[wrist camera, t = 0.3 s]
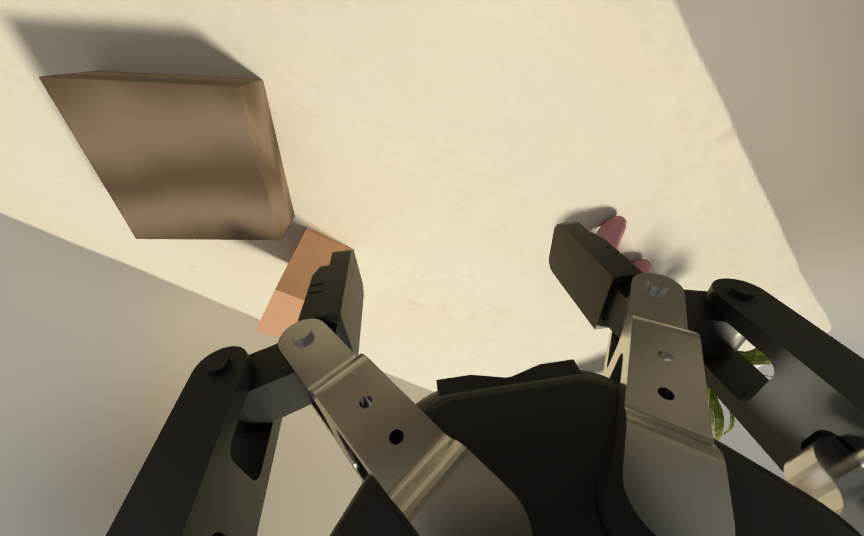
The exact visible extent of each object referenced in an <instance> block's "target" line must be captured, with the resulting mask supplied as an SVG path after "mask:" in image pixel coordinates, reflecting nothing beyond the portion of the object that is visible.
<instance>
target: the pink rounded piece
mask: <svg viewBox="0 0 864 536" xmlns="http://www.w3.org/2000/svg"><path fill="white" fill-rule="evenodd" d="M625 229H626V220H625V219H624V217H622V216H614V217H612V218H610V219H609V220H607V221H606V222H605V223H604V224H603V225H602V226H601V227H600V228H599V230H598V232H597V233H596V235H598V236H600V237H602V238H604V239H605V240H607V241H608V242H609V243H610V244H611V245H612V246H613V247H615V248H616V249H617V250H618V247H619V243H620V240H621V238H622V235H623V233H624V231H625ZM633 264H634V265H635V266H636V267H637V268H639V269H640V270H641V271H642V272H643V273H651V263H650V262H649V261H648V260H646V259H640V260H637V261H635V262H633Z"/></svg>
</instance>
